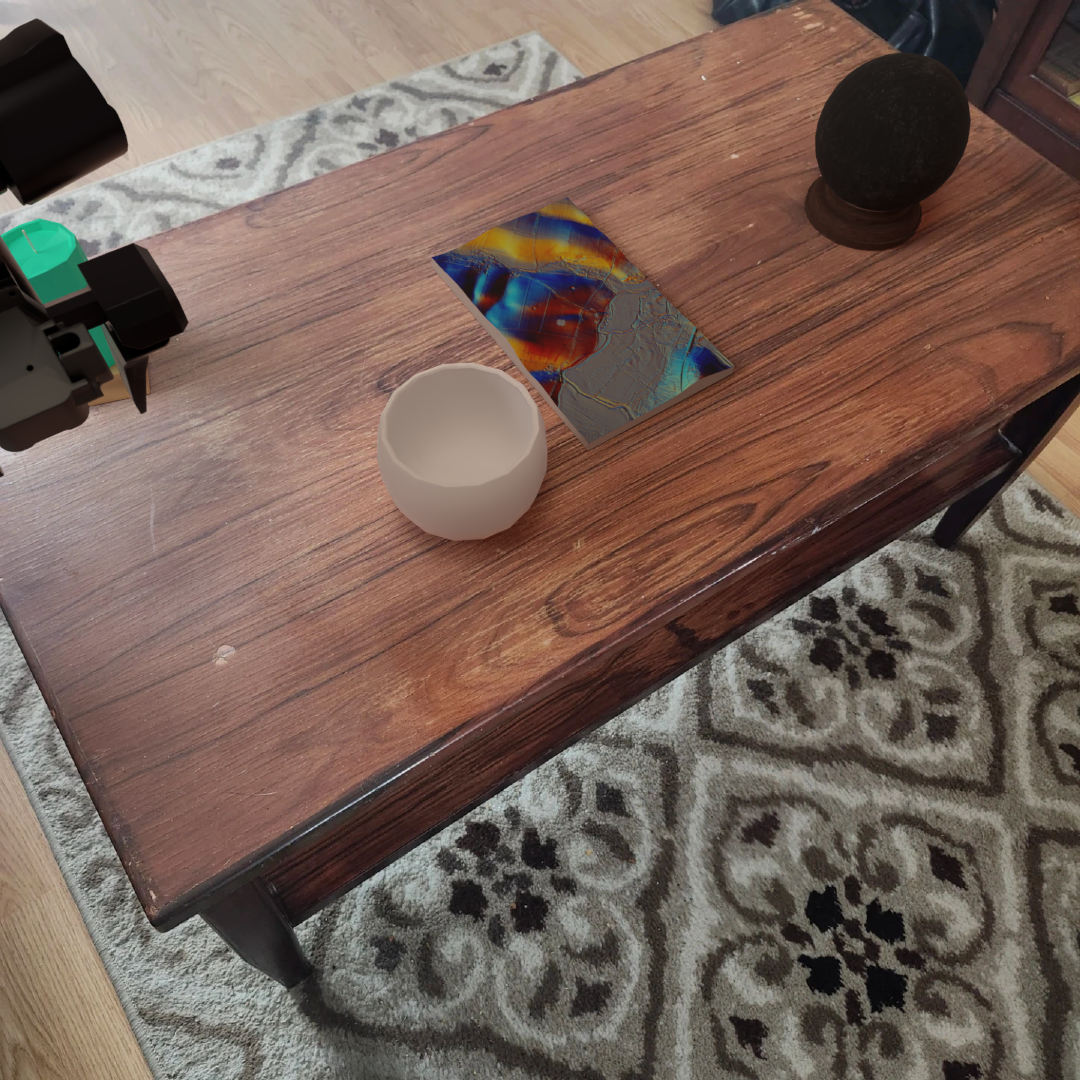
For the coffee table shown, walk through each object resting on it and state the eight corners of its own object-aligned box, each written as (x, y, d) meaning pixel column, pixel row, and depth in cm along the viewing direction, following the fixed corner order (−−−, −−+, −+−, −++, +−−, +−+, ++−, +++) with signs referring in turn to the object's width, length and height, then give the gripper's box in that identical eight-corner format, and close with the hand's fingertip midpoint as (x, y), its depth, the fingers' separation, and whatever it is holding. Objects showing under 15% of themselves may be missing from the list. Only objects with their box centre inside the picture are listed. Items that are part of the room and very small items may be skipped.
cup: (495, 593, 67) (490, 524, 59) (358, 523, 70) (335, 448, 62) (573, 475, 73) (579, 396, 64) (443, 415, 76) (433, 332, 67)
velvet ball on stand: (931, 180, 92) (996, 33, 79) (927, 268, 85) (997, 123, 73) (801, 159, 94) (844, 11, 81) (787, 243, 87) (831, 97, 74)
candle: (61, 323, 77) (-12, 205, 66) (134, 318, 77) (72, 200, 67) (49, 377, 74) (-30, 262, 63) (124, 372, 74) (58, 256, 64)
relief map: (732, 373, 78) (736, 357, 77) (588, 450, 74) (589, 435, 72) (567, 208, 89) (567, 191, 88) (432, 267, 85) (430, 250, 83)
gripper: (-241, 438, 38) (-42, 606, 52) (178, 268, 44) (260, 460, 57) (-285, 281, 43) (-92, 472, 56) (98, 146, 49) (191, 350, 62)
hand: (72, 440), depth 58 cm, fingers open, 9 cm apart
